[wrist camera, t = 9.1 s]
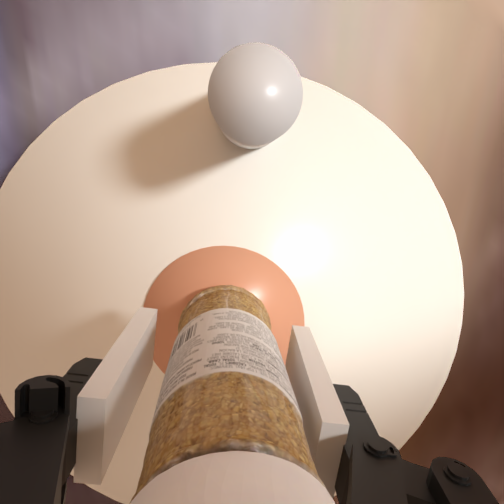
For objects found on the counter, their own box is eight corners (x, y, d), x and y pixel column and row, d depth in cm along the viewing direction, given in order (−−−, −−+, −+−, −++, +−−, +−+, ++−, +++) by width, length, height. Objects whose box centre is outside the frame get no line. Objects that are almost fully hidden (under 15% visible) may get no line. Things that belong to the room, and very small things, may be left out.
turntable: (490, 113, 20) (633, 85, 13) (389, 504, 25) (449, 644, 18) (3, 38, 18) (-150, -43, 11) (4, 469, 24) (-100, 603, 16)
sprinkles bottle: (225, 385, 20) (233, 811, 7) (158, 327, 19) (12, 684, 6) (290, 324, 19) (436, 646, 6) (224, 261, 18) (234, 481, 5)
